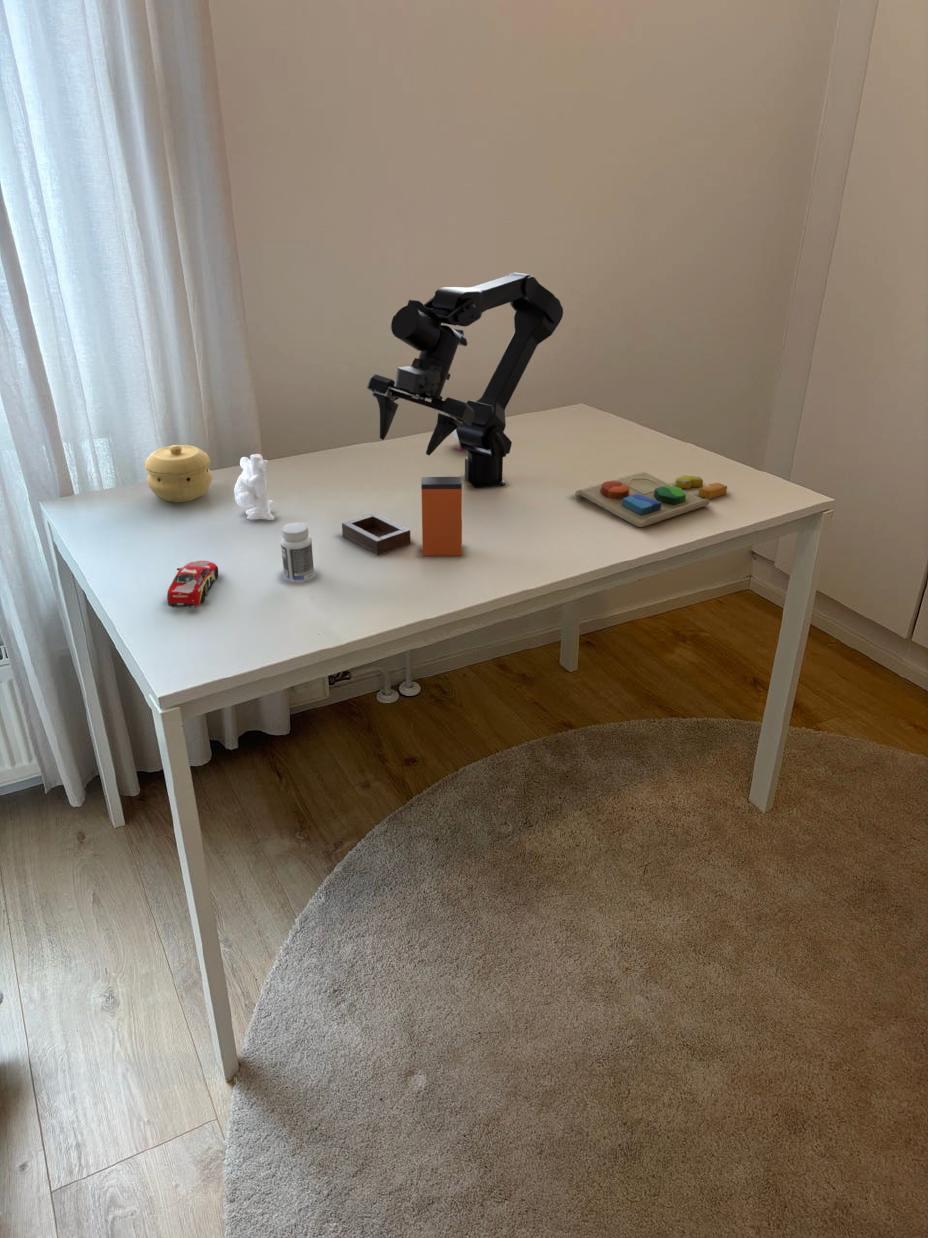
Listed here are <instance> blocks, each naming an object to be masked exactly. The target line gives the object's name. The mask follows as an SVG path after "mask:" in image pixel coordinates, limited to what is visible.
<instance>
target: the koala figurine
mask: <svg viewBox="0 0 928 1238" xmlns="http://www.w3.org/2000/svg"><path fill="white" fill-rule="evenodd" d="M268 463H269V460H267V459H264V458H263V456H262V454H260V453H254V454H253V453H252V454H250V456H249V457H248V456H242V457H241V458H240V461H239V465H240V468H241V469H242V472H241V474H240V475H239V476H238V478H237V480H236V483H235V485H234V488H233V489H234V490H233V491H234V500H235V502H236V503H237V505H238V506H239V507H241V508H247V507H253V508H249V509H247V510H246V511H245V513H246V515H247V517H246V519H247V520H270V521H272V520H273V521H274V520H275V516H274V515H273V514H272V513H271V511H272V510H271V508H272V506H273V505H274V501H273V500H271V499H269V495H268V489H267V484H268V482H267V481H268V480H267V478H266V473H267V470H266V469H267V465H268Z"/></svg>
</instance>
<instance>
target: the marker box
mask: <svg viewBox="0 0 928 1238" xmlns="http://www.w3.org/2000/svg"><path fill="white" fill-rule="evenodd" d="M420 481H421V484H420V486H421V487H420V488H421V490H420V491H421V532H422V533H421V535H422V536H421V540H422V541H421V543H422V548H421V549H422V556H423V557H449V556H452V557H454V556H455V557H456V556H457V557H458V556H460V557H461V556H462V551H463V550H462V547H463V546H462V544H463V507H462V506H463V482H462V476H421V480H420Z"/></svg>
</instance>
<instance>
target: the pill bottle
mask: <svg viewBox="0 0 928 1238" xmlns="http://www.w3.org/2000/svg"><path fill="white" fill-rule="evenodd" d="M309 533H310V532H309V527H308V525H307V523H306V524H305V523H303V522H290V523H287V524H285V525H283V526H282V527H281V537H282V539H281V540H280V551H281V558H282V560H281V561H282V570H283V578H284V579H285V580H286V581H288V582H292V583H305V582H308V581H310V580H311V579H313V578H314V576H315V567H314V565H315V564H314V556H313V555H314V554H313V542H312V538H311V537H310V536H309Z"/></svg>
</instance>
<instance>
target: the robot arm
mask: <svg viewBox="0 0 928 1238" xmlns="http://www.w3.org/2000/svg"><path fill="white" fill-rule="evenodd" d="M506 304H510V306H511V307H512V309H513V310H514V311H515V312H514V315H513V325H514V326H513V327H514V332H513V334H512V336H511V338H510V341H509V343H508V345H507V347H506V348H505V351H504V353H503V354H502V356H501V358H500V360H499V362H498V364H497V366H496V368H495V370H494V372H493V374H492V375H491V378H490V380H489V382H488V384H487V386H486V388H485V389H484V391H483V394H482V396H481V397H480V398H478V399H477V400H476V401H475V400H471V399H468V400H467V401H461V400H459V399H456V398H452V397H450V396H448V397H447V396H446V398H445V399H444V400H443V396H442V392H443V389H444V386H445V383H446V381H450V378H451V373H450V369H451V368H452V367H451V366H452V364H453V361H454V358H455V355H456V353H457V350H458V347H459V346H462V347H467V346H468V340H467V338H466V336H465V331H464V330H463V329H461V328H452V327H450V326H458V327H470V326H471V325H472V324H474V323H475V322H477V321H478V320H480V319H481V318H482V316H483V313H484V312H486V311H488V310H492V309H494V308H498V307H500V306H503V305H506ZM563 315H564V308H563V306H562V304H561V300H560V299H559V298H558V297H556V296H555V294H554V293H553V292H551V291H550V290H548V289H547V288H546V287H545V286H544V285H542V284H540V282H539V281H538V280H537V278H536V277H535V276H533V275H532V274H529V273H522V272H511V273H509V274H507V275H505V276H502V277H499V278H495V279H493V280H490V281H486V282H484V283H480V284H477V285H474V286H469V287H461V286H448V287H447V286H445V287H440V288H438V289H436V290H435V291H434V295H433V296H432V297H431V298H430V299H428V300H427V301H426V302H425V303H423V302H421V301H420V300H417V299H412V298H411V299H409V300H408V302H407V305H405V306H403V307H401V308H400V309H399V310H397V312H396V313H395V314H394V315H393V317H392V319H391V324H390V326H391V327H390V329H391V334H392V335H393V336H394V337H395V338H397V339H398V340H400V341H401V342H403V343H405V344H407V345H408V346H409V347H411V348H413V349H414V350H416V351H418V352H419V355H418V358H417V357H414V359H413V361H412V364H411V365H410V366H408V365H405V366H397V368H396V374H395V379H392V378H389V377H386V376H382V375H380V374H374V375H372V376H371V377H370V378H369V380H368V383H367V386H366V389H367V390H369V391H370V392H371V394H372V397H374V398H376V401H377V403H378V408H379V439H380V440H382V441H384V440H385V439H386V437H387V435H388V434H389V431H390V428H391V425H392V423H393V420H394V418H395V416H396V413H397V410H398V409H399V404H398V403H397V402H395V401H397V400H399V399H402V400H404V401H408V402H410V403H413V404H417V405H420V406H422V407H423V406H424V407H427V408H430V409H432V410H436V411H438V413H437V419H436V424H435V427H434V430H433V432H432V434H431V437H430V440H429V442H428V445H427V447H426V451H425V455H427V456H431V455H432V454H433V453H434V452H435V450H436V449H437V448H438V447H439V446H440V445H441V444H442V443H443V441H444V440H446V439H447V438H448V437H449V436H450V435H451V434H453V433H452V432H453V431H454V430H455V429H456V432H457V436H458V439H459V443H460V444H459V443H458V444H459V447H460V446H461V450H464V451H467V457H465V459H464V479H465V480H466V482H468V483H469V484H470V486H471V487H472V488H473V489H479V488H489V487H500V486H501V487H502V486H505V485H506V482H505V480H504V479H503V470H504V469H503V468H504V467H503V465H504V458H505V457H507V455H508V454H510V452H511V448H512V443H513V442H512V440H511V439H510V438H509V437H508V436H507V434H506V433H505V432H504V431H505V429H506V426H507V424H506V423H507V422H506V413H505V411H506V408H507V406H508V404H509V403H510V400H511V399H512V396H513V394H514V392H515V390H516V388H517V387H518V384H519V382H520V381H521V379H522V376H523V374H524V373H525V371H526V369H527V367H528V365H529V363H530V361H531V359H532V357H533V355H534V353H535V351H536V349H537V348H538V346H539V344H541V343H542V342H544V341H546V340H547V339H548V338H549V337H551V336H552V335H553V333H554V332H555V331H556V329H557V327H558V326H559V324H560V323H561V321H562V319H563ZM449 325H450V326H449ZM426 399H427V400H426ZM428 400H431V401H428ZM440 412H442V413H443V414H442V413H440Z"/></svg>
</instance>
